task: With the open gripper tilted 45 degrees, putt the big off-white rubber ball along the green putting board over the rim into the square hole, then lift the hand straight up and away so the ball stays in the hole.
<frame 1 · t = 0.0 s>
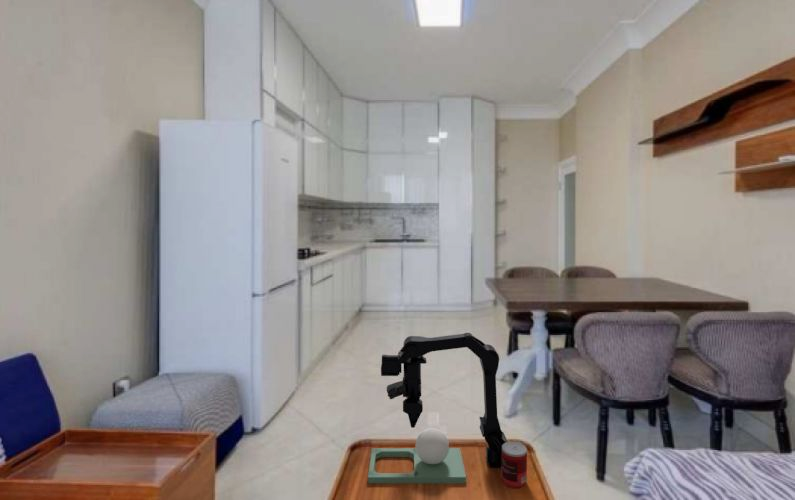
hand: (412, 420, 152), 15 cm above the table, tool pointing down, fingers open, 9 cm apart
canned food: (513, 482, 142), on the table
putting board: (416, 467, 150), on the table
ball: (432, 445, 149), point 7 cm above the table, touching putting board
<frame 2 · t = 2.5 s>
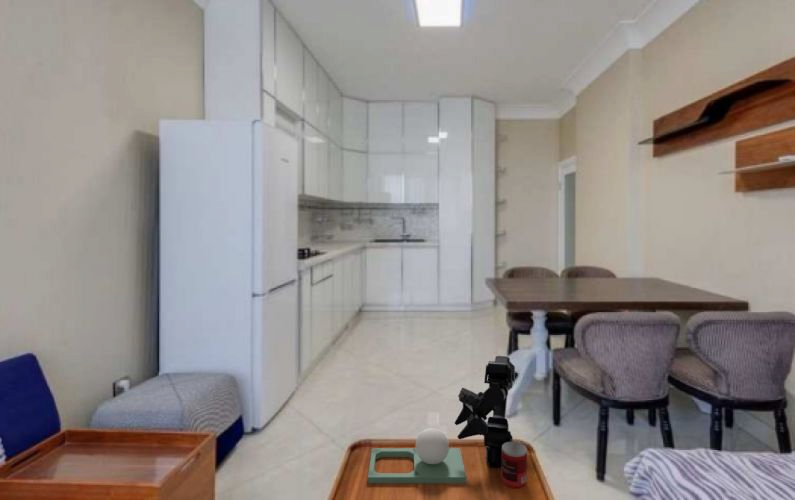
hand: (456, 430, 149), 13 cm above the table, tool tilted 45°, fingers open, 9 cm apart
nothing on the table moved.
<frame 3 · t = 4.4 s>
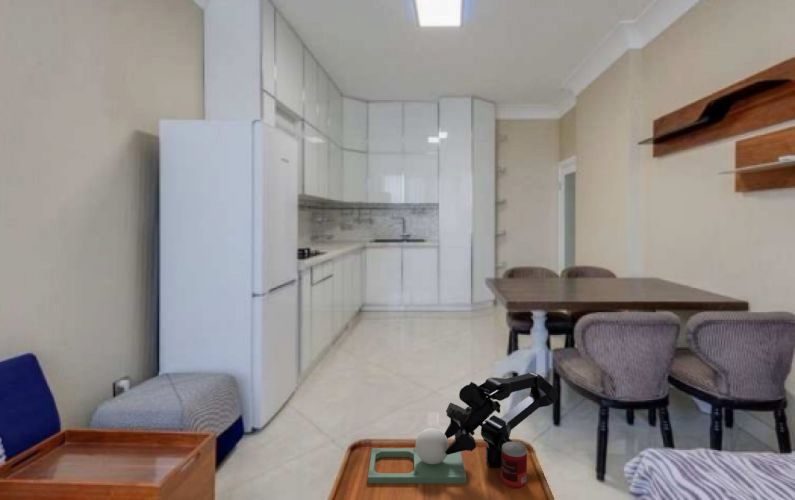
hand: (444, 446, 149), 8 cm above the table, tool tilted 45°, fingers open, 9 cm apart
ball: (432, 445, 149), point 7 cm above the table, touching gripper, putting board
everything else where it was.
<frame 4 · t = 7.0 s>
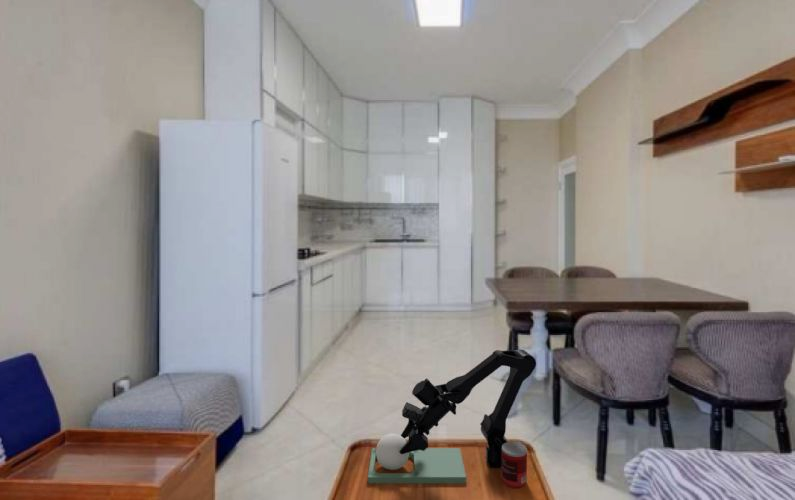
hand: (400, 445, 150), 8 cm above the table, tool tilted 45°, fingers open, 9 cm apart
ball: (392, 451, 150), point 5 cm above the table, tilted 142°, touching gripper
everything else where it was.
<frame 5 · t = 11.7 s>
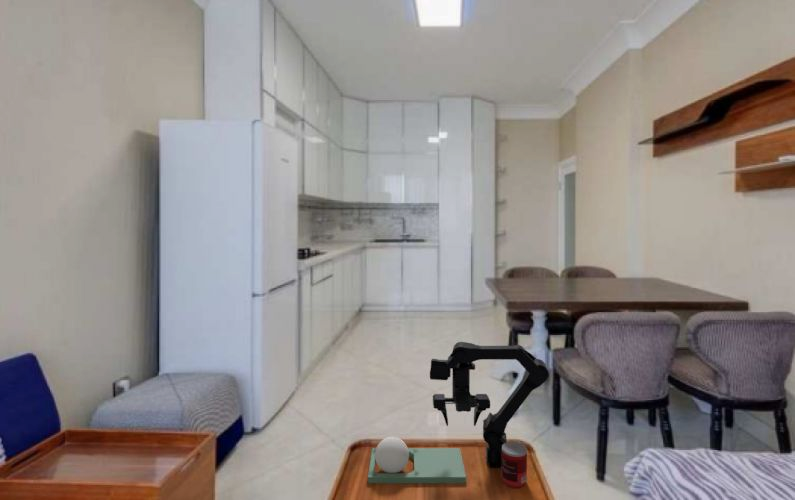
hand: (460, 425, 154), 12 cm above the table, tool pointing down, fingers open, 9 cm apart
ball: (392, 454, 148), point 5 cm above the table, tilted 141°
everything else where it was.
at the end: ball inside the target area on the putting board (2.1 cm from its centre), point 5.5 cm above the putting board's base; ball touching table; the gripper is holding nothing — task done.
